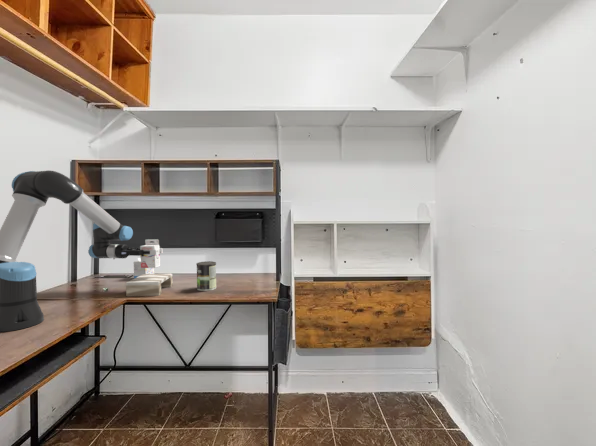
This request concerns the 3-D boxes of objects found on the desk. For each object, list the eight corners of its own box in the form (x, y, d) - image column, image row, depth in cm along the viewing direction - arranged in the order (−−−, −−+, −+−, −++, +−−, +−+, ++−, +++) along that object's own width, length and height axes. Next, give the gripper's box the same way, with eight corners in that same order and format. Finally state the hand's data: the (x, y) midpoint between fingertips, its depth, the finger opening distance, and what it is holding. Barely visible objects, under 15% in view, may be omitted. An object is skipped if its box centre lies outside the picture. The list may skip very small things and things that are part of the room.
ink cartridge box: (140, 268, 165) (138, 240, 165) (146, 266, 170) (144, 239, 170) (155, 268, 164) (154, 240, 163) (160, 266, 169) (159, 239, 168)
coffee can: (199, 292, 164) (199, 265, 163) (194, 287, 173) (194, 262, 172) (219, 289, 170) (218, 263, 169) (213, 285, 178) (212, 260, 178)
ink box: (145, 280, 192) (145, 258, 191) (133, 280, 193) (132, 258, 193) (154, 277, 200) (154, 256, 199) (143, 277, 202) (142, 256, 201)
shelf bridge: (159, 295, 158) (158, 281, 158) (126, 296, 157) (125, 282, 157) (172, 285, 178) (172, 273, 178) (143, 286, 177) (143, 274, 177)
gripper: (129, 255, 178) (168, 255, 175) (106, 261, 160) (149, 261, 157) (129, 242, 178) (168, 242, 175) (106, 246, 160) (149, 246, 157)
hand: (159, 251), depth 166 cm, fingers closed on ink cartridge box, 5 cm apart
